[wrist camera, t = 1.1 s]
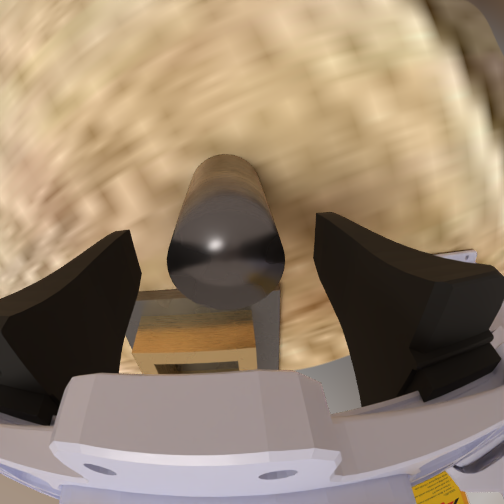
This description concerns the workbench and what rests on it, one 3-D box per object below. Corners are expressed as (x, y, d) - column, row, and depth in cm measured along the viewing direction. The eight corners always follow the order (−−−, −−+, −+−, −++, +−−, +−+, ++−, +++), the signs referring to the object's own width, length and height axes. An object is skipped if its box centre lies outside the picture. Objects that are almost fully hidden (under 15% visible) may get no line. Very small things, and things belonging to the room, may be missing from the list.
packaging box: (428, 440, 53) (454, 513, 32) (371, 464, 55) (392, 541, 34) (438, 421, 45) (472, 510, 24) (369, 451, 47) (396, 547, 26)
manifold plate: (277, 281, 20) (289, 327, 17) (275, 405, 30) (280, 440, 26) (114, 293, 20) (96, 337, 16) (171, 411, 29) (168, 444, 26)
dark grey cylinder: (258, 151, 16) (285, 206, 9) (261, 216, 18) (283, 304, 11) (186, 158, 16) (156, 217, 9) (195, 221, 18) (179, 313, 11)
